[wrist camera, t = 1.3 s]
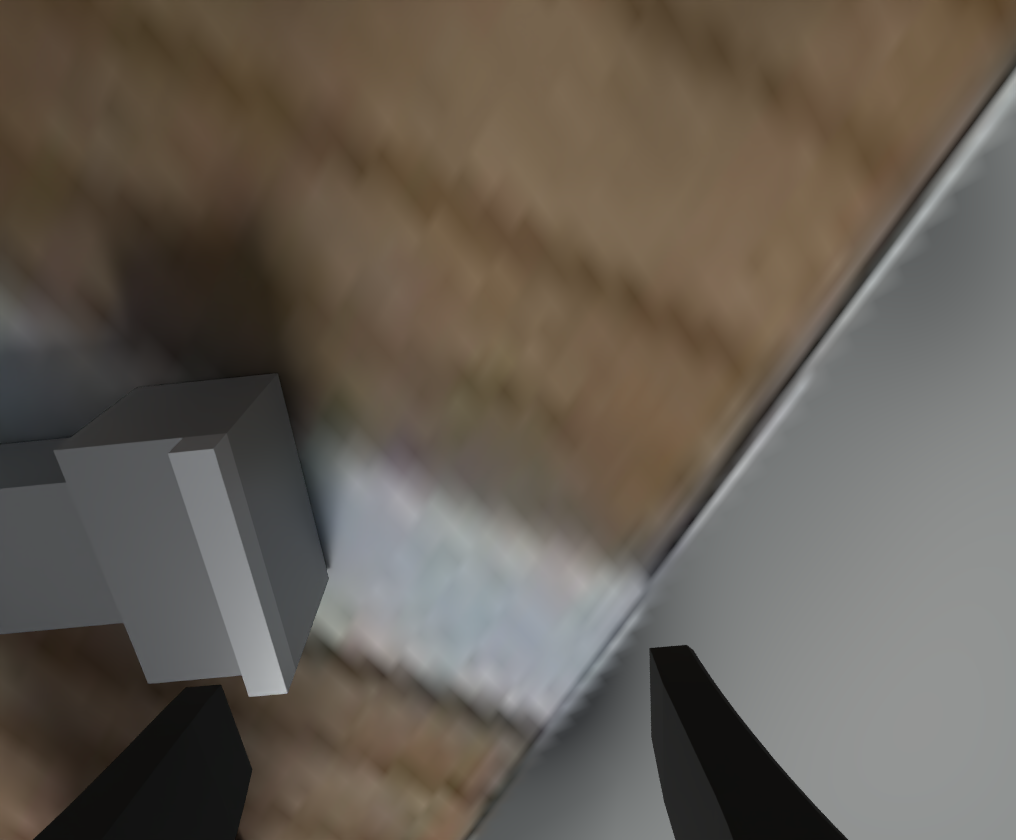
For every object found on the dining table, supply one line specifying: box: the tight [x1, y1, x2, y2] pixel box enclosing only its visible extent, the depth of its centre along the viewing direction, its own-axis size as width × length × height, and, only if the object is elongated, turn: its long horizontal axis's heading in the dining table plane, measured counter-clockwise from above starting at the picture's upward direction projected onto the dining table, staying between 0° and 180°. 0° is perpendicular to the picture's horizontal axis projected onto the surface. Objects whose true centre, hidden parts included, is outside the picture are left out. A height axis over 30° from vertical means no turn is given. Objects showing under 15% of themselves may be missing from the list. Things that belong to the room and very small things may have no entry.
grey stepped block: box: [0, 373, 329, 697], centre depth 19 cm, size 7×10×5 cm
